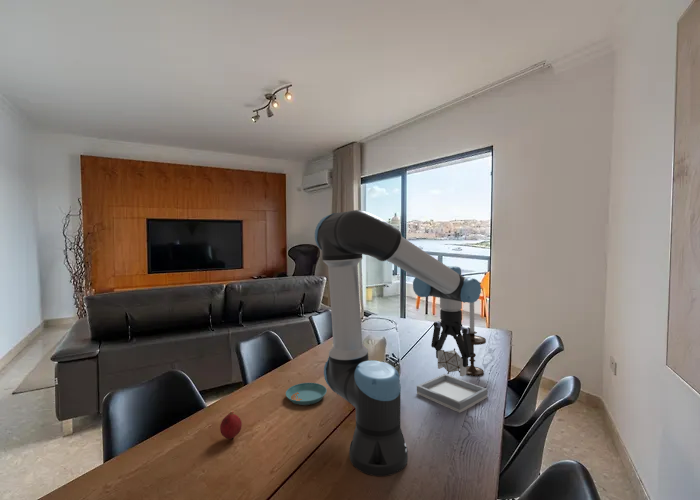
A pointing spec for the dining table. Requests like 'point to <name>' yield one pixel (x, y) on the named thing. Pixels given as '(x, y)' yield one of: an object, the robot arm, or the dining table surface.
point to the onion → (230, 425)
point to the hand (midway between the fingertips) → (451, 371)
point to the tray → (452, 392)
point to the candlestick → (475, 340)
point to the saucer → (307, 393)
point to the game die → (450, 361)
